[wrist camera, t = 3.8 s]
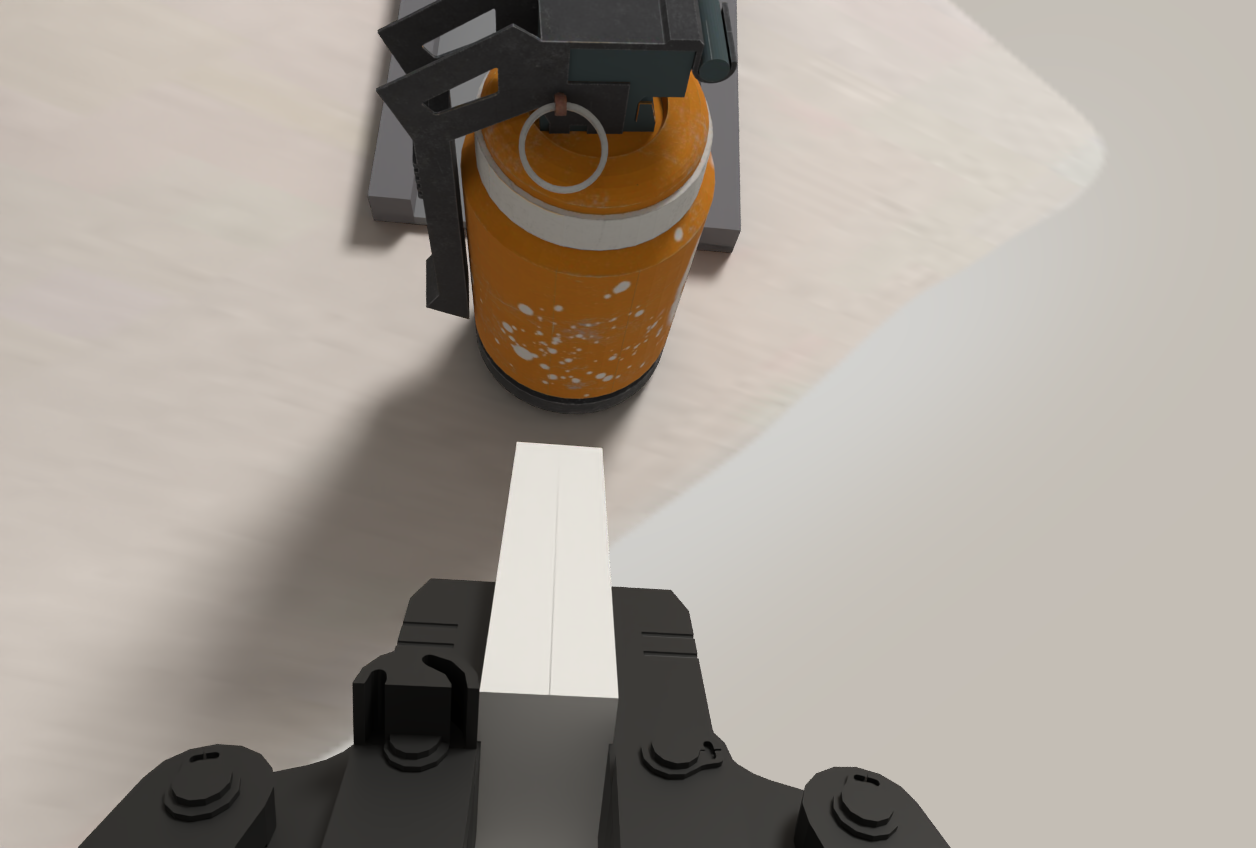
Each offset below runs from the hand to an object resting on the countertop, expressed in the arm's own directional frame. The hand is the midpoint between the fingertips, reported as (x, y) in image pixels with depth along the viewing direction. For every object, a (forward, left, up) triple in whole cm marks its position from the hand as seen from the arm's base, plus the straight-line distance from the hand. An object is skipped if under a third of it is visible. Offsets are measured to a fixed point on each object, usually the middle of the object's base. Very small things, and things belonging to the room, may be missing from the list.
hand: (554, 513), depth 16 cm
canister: (0, +16, -23) cm, 28 cm away
